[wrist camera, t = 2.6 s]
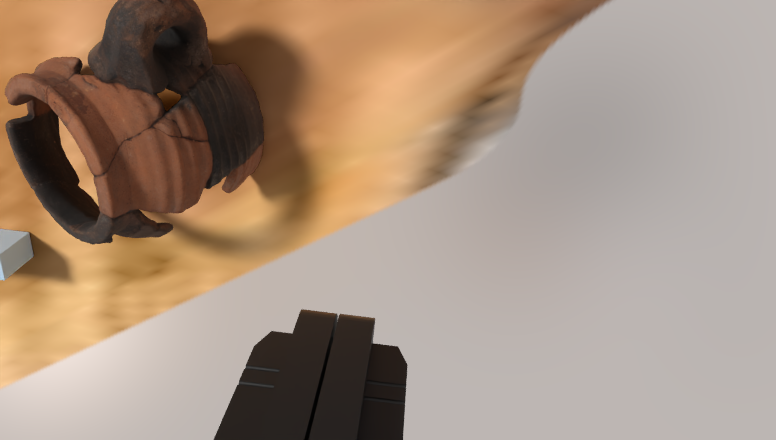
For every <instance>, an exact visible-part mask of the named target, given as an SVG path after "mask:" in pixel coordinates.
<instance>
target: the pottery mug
mask: <svg viewBox="0 0 776 440" xmlns="http://www.w3.org/2000/svg"><path fill="white" fill-rule="evenodd" d="M212 58H213V57H212V53H211V50H210V49H209V47H208V38H207V27H206V23H205V20H204V18H203V16H202V14H201V12H200V10H199V8H198V6H197V4H196V3H195V2H194V1H193V0H118V1H117V2H116V3H115V5H114V6H113V8H112V9H111V11H110V13H109V15H108V18H107V20H106V26H105V31H104V35H103V39H102V41H101V42H99V43H98V44H97V45H96V46H95V47H94V48H93V49H92V50H91V51H90V52H89V55H88V64H89V66H90V68H91V70H92V71H93V72H94V73H95V74H94V75H79V74H80V71H81V69H82V65H83V64H82V61H81V60H80V59H79V58H76V57H61V58H58V57H57V58H51V59H49V60H46V61H45V62H43V63H41V64H39V65H38V66H37V67H36V69H35V72H34V73H33V74H28V73H22V74H18V75H16V76H14V77H13V78H11V79H10V80H9V82H8V84H7V86H6V88H5V95H6V97H7V99H8V102H9V103H10V104H11V105H21V104H24V103H27V109H28V115H27V116H25V117H22V118H16V119H12V120H9V121H8V122H7V123H6V131H7V134H8V138H9V141H10V145H11V147H12V149H13V152H14V155H15V158H16V160H17V162H18V164H19V166H20V168H21V170H22V172H23V174H24V176H25V178H26V180H27V181H28V183H29V184H30V186H31V188H32V189H33V190H34V191H35V194H36V196H37V197H38V199H39V200H40V202H41V203H42V205H43V207H44V208H45V209H46V210H47V211H48V212H49V213H50V214H51V216H52V217H53V218H54V220H55V221H56V222H57V223H58V224H59V225H60V226H61V227H63V229H64V230H66V231H67V232H68V233H69V234H71V235H72V236H74V237H75V238H77V239H80V240H81V241H83V242H87V243H91V244H101V243H111V242H112V240H113V239H112V236H113V235H114V234H116V235H119V236H123V237H131V238H146V237H161V236H163V235H165V234H167V233H168V232H170V231H171V230H172V229H173V225H172V224H170V223H156V222H155V221H153V220H151V219H149V218H147V217H146V216H145V215H144V214H143V213H142V212H141V211H140V210H144V211H148V212H160V213H182V212H184V211H185V210H186V209H188V208H190V207H192V206H193V205H195V204H196V203H197V202H198V201H199V199H200V196H201V194H202V191H203V189H204V188H207V189H210V188H211V187H212V186H214V185H216V184H218V183H219V182H221V180H222V179H223V178H224V177H226V176H227V177H226V180H225V182H224V184H223V186H222V190H223V191H225V192H226V193H230V192H232V191H234V190H235V189H237V188H238V187H239V186H240V185H241V184H242V183H243V182H244V180H245V179H246V178H247V177H248V176H249V175H251V174H252V173H253V172H254V171H255V169H256V168H257V166H258V164H259V162H260V159H261V156H262V150H263V141H264V130H263V117H262V115H261V111H260V107H259V102H258V100H257V98H256V94H255V92H254V90H253V88H252V87H251V85H250V84H249V82H248V80H247V78H246V77H245V75H244V74H243V72H242V71H241V69H240V68H239V67H238V66H237V65H236V64H234V63H231V64H227V65H222V64H219V65H215V64H212ZM165 88H166V89H168V90H171V91H173V92H176V93H177V94H180V95H181V99H180V100H179V101H178V103H177V104H175V105H174V106H173V107H172V108H171V109H170V110H168V111H165V109H164V106H163V103H162V101H161V99H160V98H159V97H158V96H157V93H160V92H162V91H164V90H165ZM58 117H59V118H60V119H61V120H62V122H63V123H64V125H65V126H66V128H67V129H68V131H69V132H70V133H71V135H72V136H73V138H74V139H75V141H76V143H77V145H78V146H79V148H80V150H81V152H82V154H83V155H84V157H85V159H86V162H87V165H88V167H89V169H90V171H91V173H92V174H93V175H94V183H95V186H96V190H97V196H98V202H99V207H98V205H97V204H96V203H95V202H94V200H93V199H92V197H91V196H90V195H88V194H87V193H86V192H85V191H84V190H83V189H81V188H80V187H79V186H78V184H79V178H78V176H77V174H76V171H75V170H74V169H73V167H72V165H71V164H70V162H69V160H68V159H67V157H66V155H65V152H64V150H63V148H62V146H61V140H60V135H59V118H58ZM139 209H140V210H139Z"/></svg>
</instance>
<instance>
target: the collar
mask: <svg viewBox="0 0 776 440" xmlns="http://www.w3.org/2000/svg"><path fill="white" fill-rule="evenodd" d="M32 257H34V255H33V250H32V245H31V240H30V234H29V232H22V231H13V230H5V229H0V280H6V279H7V278H8V277H9V276H11V275H12V274H13V273H14V272H15V271H17V270H18V269H19V268H20V267H21V266H23V265H24V264H25V263H26V262H28V261H29V260H30V259H31V258H32Z"/></svg>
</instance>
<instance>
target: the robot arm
mask: <svg viewBox="0 0 776 440" xmlns="http://www.w3.org/2000/svg"><path fill="white" fill-rule="evenodd" d="M337 317H338V316H337V314H334V313H327V312H318V311H311V310H301V312H300V314H299V317H298V319H297V322H296V325H295V328H294V331H293V334H291V333H282V332H274V331H271V332H270V333H269V334H268V335H267V336H265V337H264V338H263V339H262V340H261V341H260V342H258V343H257V344H256V345H255V346H254V348H253V350H252V352H251V355H250V357H249V359H248V362H247V364H246V368H245V369H244V371H243V373H242V376H241V378H240V380H239V385H237V387H236V390H235V392H234V394H233V396H232V399H231V401H230V403H229V406H228V408H227V410H226V412H225V415H224V417H223V419H222V422H221V424H220V426H219V429H218V431H217V433H216V436H215V438H214V440H403V427H404V412H405V395H406V378H407V363H406V361H405V359H404V358H403V356H402V354H401V352H400V350H399V348H398V347H397V346H389V345H381V344H373V335H374V325H375V318H369V317H361V316H352V315H344V314H340V315H339V318H338V322H337Z"/></svg>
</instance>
